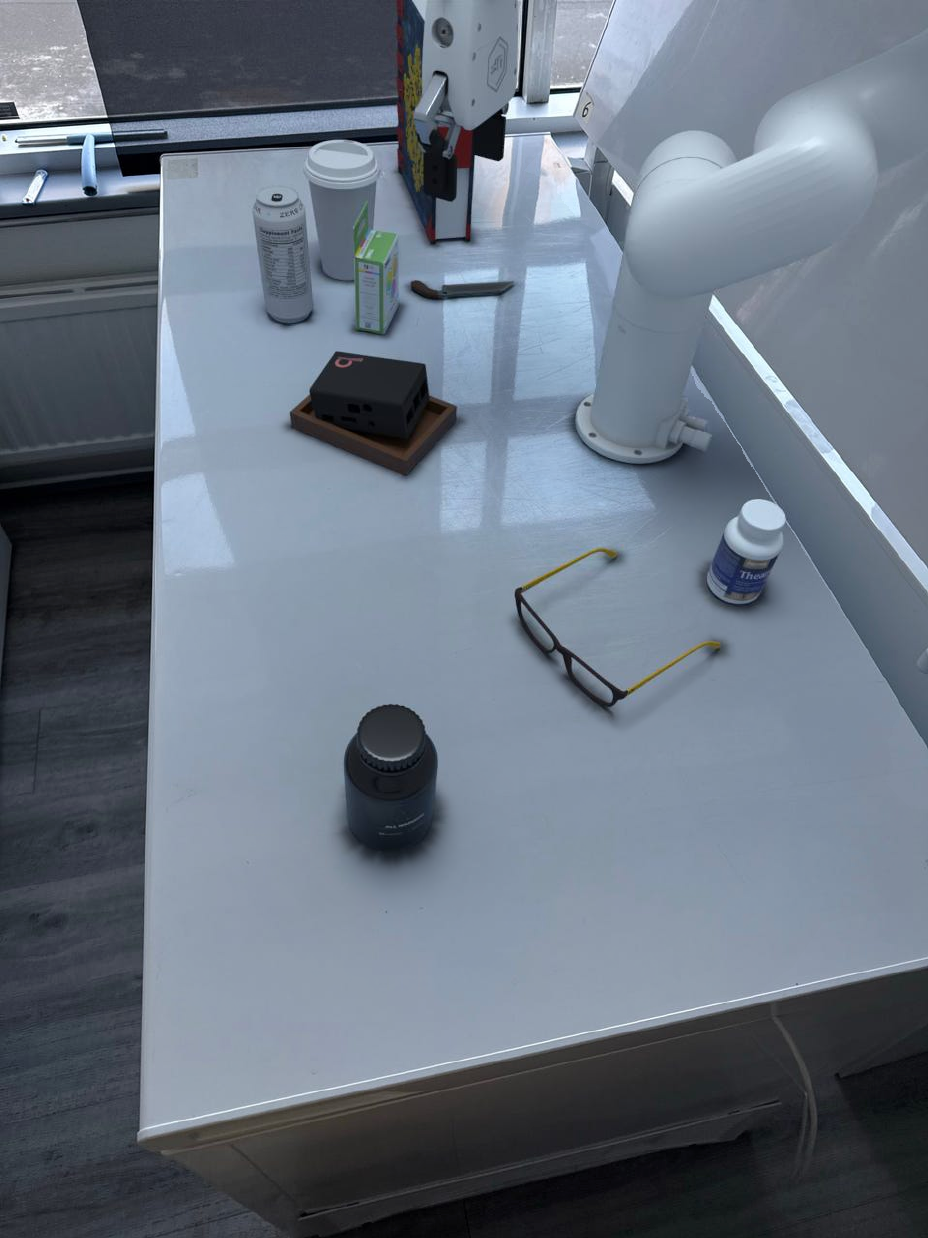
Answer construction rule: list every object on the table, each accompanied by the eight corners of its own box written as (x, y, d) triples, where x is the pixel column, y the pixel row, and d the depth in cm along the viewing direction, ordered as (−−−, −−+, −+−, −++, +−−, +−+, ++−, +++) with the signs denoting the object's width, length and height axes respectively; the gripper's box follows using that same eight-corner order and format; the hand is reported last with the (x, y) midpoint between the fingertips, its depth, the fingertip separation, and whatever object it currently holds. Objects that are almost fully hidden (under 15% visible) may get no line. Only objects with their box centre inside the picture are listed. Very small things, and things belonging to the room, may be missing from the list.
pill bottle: (728, 613, 86) (759, 542, 78) (694, 575, 89) (722, 503, 81) (771, 595, 88) (806, 524, 80) (737, 558, 91) (768, 487, 83)
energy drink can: (315, 299, 116) (305, 183, 105) (312, 326, 112) (301, 208, 101) (268, 298, 116) (253, 181, 104) (263, 324, 112) (247, 206, 100)
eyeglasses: (503, 619, 84) (507, 591, 81) (614, 555, 90) (622, 527, 87) (607, 725, 77) (615, 699, 74) (720, 648, 83) (732, 621, 80)
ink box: (385, 336, 112) (384, 232, 102) (355, 330, 112) (350, 227, 102) (399, 306, 116) (399, 204, 106) (369, 301, 117) (366, 199, 106)
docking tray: (456, 420, 102) (457, 405, 101) (406, 475, 96) (406, 460, 94) (346, 377, 106) (345, 362, 105) (291, 427, 100) (289, 411, 98)
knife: (414, 300, 117) (414, 295, 117) (409, 284, 120) (409, 279, 119) (518, 294, 119) (518, 289, 119) (511, 278, 122) (512, 273, 121)
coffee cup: (396, 264, 123) (395, 151, 111) (353, 294, 117) (348, 179, 106) (340, 242, 126) (334, 129, 114) (296, 270, 120) (285, 155, 109)
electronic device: (407, 441, 97) (401, 404, 93) (317, 427, 99) (308, 389, 95) (430, 400, 101) (425, 362, 97) (343, 386, 104) (336, 349, 100)
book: (393, 164, 142) (391, -22, 123) (436, 161, 143) (440, -23, 124) (427, 245, 126) (431, 47, 107) (474, 241, 128) (486, 45, 109)
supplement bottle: (402, 870, 68) (402, 794, 59) (329, 824, 70) (319, 744, 61) (450, 802, 72) (458, 720, 62) (380, 760, 74) (378, 675, 64)
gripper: (462, -2, 66) (456, 224, 79) (557, -58, 76) (538, 152, 89) (375, -20, 68) (383, 203, 81) (479, -72, 78) (471, 134, 91)
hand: (464, 176), depth 85 cm, fingers open, 9 cm apart
